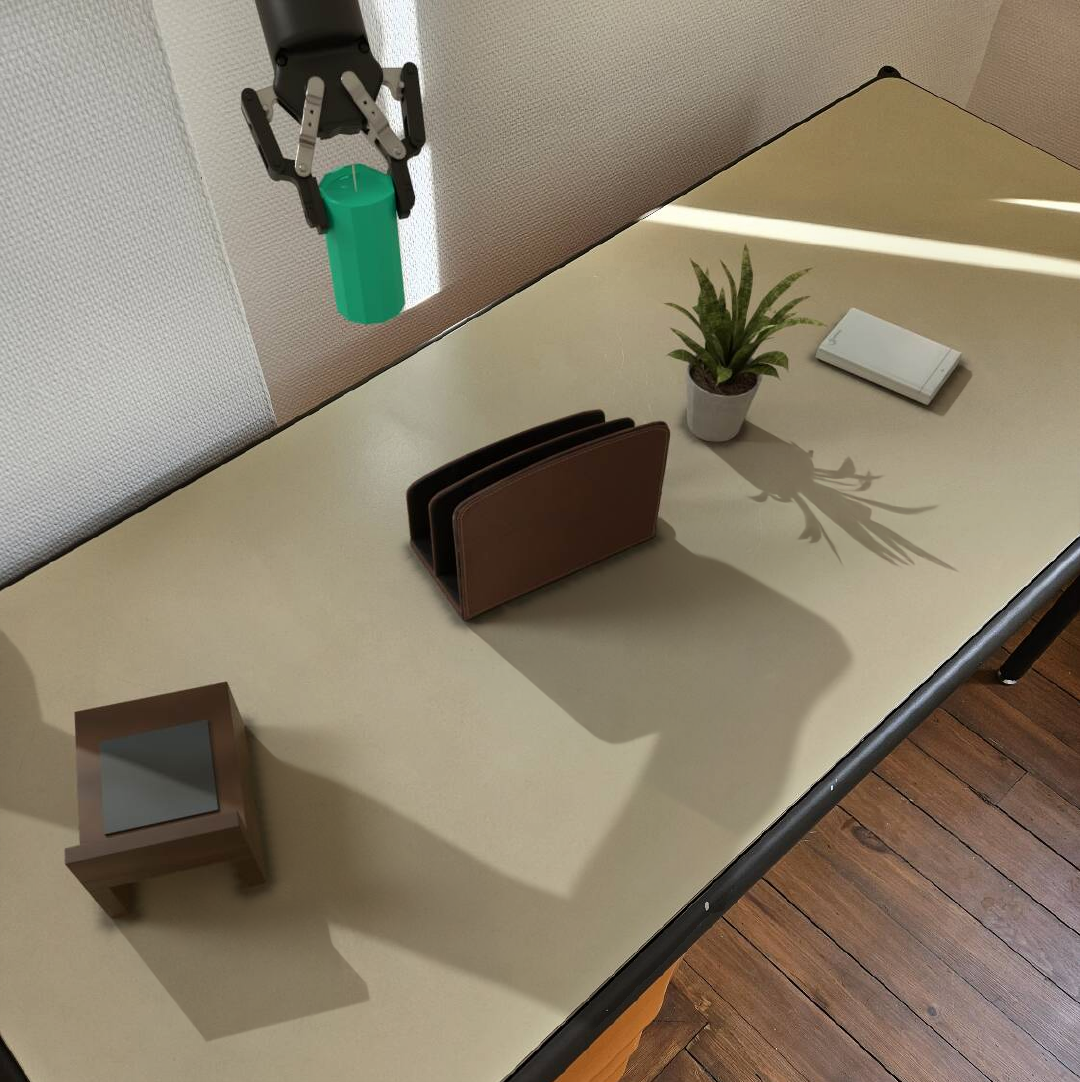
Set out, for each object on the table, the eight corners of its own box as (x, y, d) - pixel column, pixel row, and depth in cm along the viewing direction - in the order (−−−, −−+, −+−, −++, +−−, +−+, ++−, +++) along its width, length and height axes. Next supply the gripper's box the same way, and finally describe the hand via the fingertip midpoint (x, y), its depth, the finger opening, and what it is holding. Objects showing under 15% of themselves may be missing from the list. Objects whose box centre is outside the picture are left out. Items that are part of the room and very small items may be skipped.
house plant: (820, 406, 105) (866, 256, 91) (771, 494, 98) (813, 347, 85) (687, 360, 108) (713, 210, 95) (631, 443, 102) (650, 294, 88)
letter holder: (657, 537, 95) (677, 415, 83) (463, 624, 89) (455, 506, 78) (597, 469, 100) (609, 343, 88) (409, 547, 94) (394, 424, 82)
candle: (377, 333, 89) (360, 197, 79) (320, 308, 90) (297, 171, 80) (419, 296, 92) (407, 160, 81) (363, 272, 93) (345, 136, 83)
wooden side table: (101, 753, 82) (59, 688, 74) (244, 724, 84) (217, 657, 76) (110, 918, 75) (64, 864, 67) (266, 882, 76) (239, 825, 69)
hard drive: (818, 346, 108) (931, 394, 104) (853, 305, 111) (964, 350, 108) (814, 359, 109) (926, 407, 105) (849, 318, 113) (958, 363, 109)
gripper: (205, -24, 74) (277, 229, 78) (403, -52, 77) (461, 194, 81) (207, 23, 81) (273, 253, 85) (388, -4, 84) (443, 220, 88)
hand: (365, 223), depth 83 cm, fingers closed on candle, 6 cm apart
